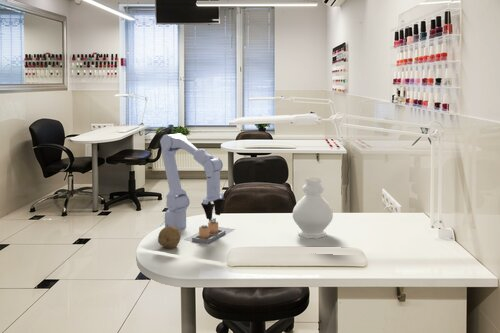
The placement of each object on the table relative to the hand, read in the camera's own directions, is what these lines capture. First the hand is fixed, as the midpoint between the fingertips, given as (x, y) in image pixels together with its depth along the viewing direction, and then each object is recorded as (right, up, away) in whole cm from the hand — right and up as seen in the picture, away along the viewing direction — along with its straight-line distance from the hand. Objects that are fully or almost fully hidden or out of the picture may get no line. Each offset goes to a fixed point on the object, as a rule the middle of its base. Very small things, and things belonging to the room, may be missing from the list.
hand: (213, 216), depth 229 cm
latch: (-1, -6, +14) cm, 15 cm away
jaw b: (0, -8, +1) cm, 8 cm away
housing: (-1, -9, +2) cm, 9 cm away
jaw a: (-3, -9, -6) cm, 11 cm away
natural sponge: (-17, -12, -15) cm, 26 cm away
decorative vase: (+44, -9, +7) cm, 45 cm away
